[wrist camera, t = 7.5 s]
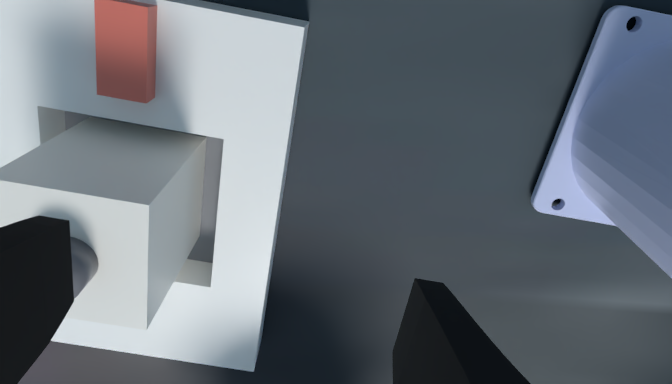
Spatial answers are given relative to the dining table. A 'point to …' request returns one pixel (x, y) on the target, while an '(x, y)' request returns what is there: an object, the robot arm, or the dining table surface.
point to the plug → (114, 211)
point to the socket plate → (179, 116)
